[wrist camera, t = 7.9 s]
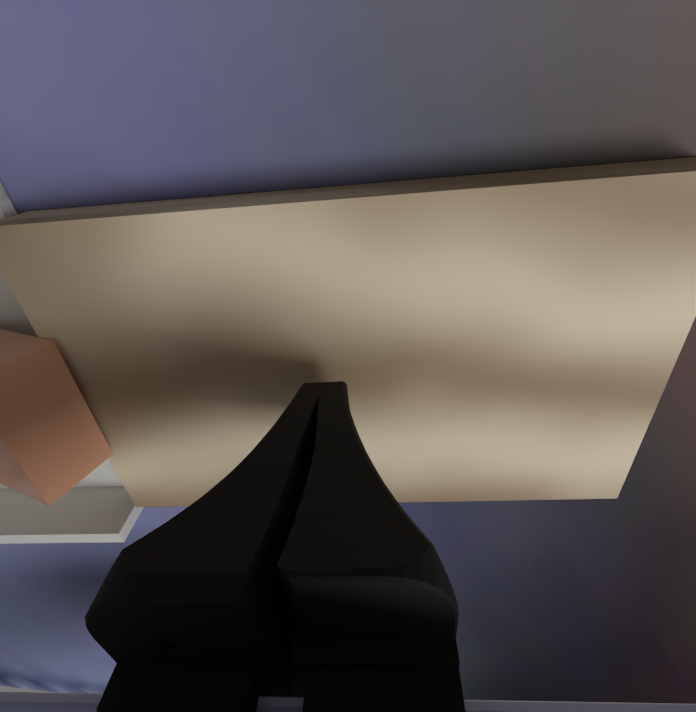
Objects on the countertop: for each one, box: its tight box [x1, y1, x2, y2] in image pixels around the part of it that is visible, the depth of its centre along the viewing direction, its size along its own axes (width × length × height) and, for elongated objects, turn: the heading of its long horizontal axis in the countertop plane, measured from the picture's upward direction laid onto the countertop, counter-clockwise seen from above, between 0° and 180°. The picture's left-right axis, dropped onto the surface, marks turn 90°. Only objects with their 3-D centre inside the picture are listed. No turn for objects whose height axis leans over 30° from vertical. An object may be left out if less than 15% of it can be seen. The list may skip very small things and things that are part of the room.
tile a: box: [0, 329, 113, 506], centre depth 14 cm, size 5×5×2 cm
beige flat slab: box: [0, 157, 696, 507], centre depth 14 cm, size 12×20×2 cm, turn 95°
